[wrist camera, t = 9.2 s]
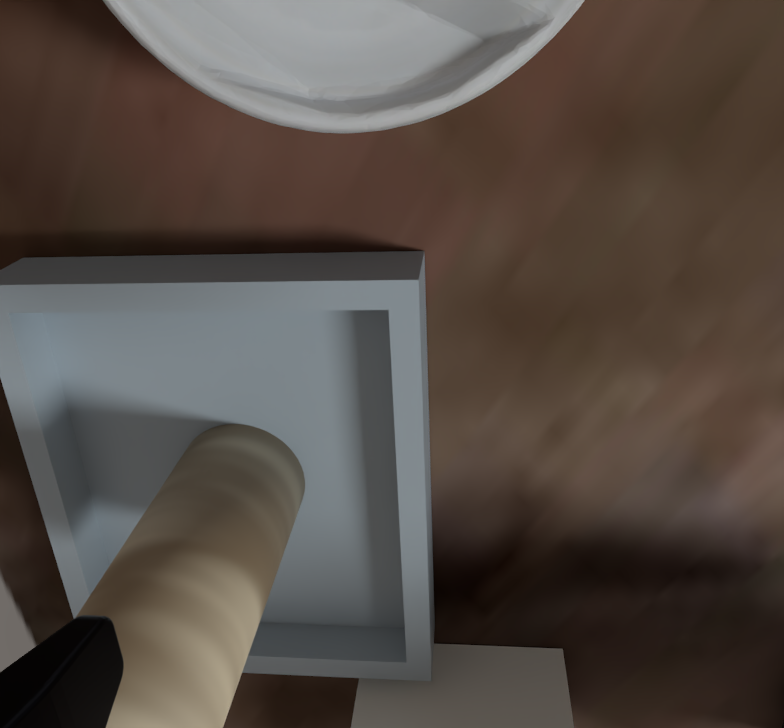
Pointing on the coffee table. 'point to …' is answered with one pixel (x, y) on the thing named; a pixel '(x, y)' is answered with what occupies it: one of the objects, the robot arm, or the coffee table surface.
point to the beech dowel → (199, 577)
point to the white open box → (472, 691)
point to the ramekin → (343, 53)
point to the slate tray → (241, 406)
